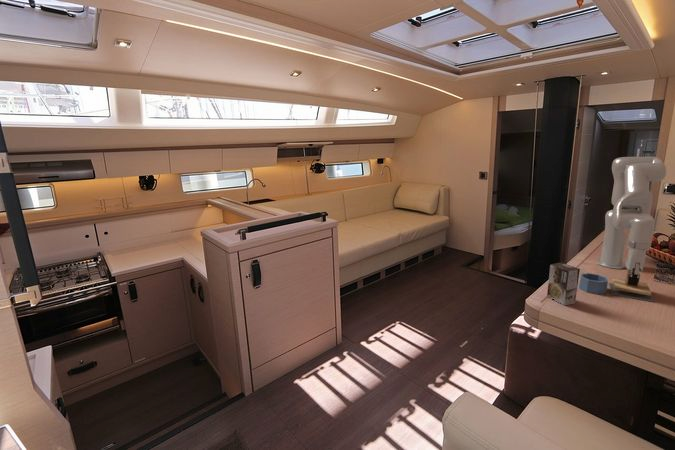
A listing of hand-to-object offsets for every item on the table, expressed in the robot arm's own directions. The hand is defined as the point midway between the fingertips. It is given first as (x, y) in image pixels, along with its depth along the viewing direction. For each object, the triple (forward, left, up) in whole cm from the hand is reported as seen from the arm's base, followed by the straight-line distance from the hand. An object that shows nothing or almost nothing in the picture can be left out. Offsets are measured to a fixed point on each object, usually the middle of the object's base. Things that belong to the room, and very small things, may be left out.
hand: (631, 282), depth 148 cm
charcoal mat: (0, 0, -5) cm, 5 cm away
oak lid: (0, 0, -2) cm, 2 cm away
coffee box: (+24, -26, -5) cm, 36 cm away
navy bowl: (+4, -14, -5) cm, 15 cm away
